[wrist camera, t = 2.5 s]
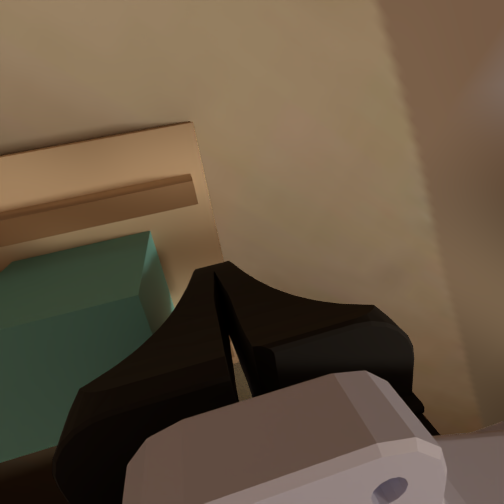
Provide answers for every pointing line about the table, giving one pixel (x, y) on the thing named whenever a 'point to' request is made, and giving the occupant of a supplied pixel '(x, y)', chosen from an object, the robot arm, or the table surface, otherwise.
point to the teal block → (71, 330)
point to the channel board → (112, 200)
